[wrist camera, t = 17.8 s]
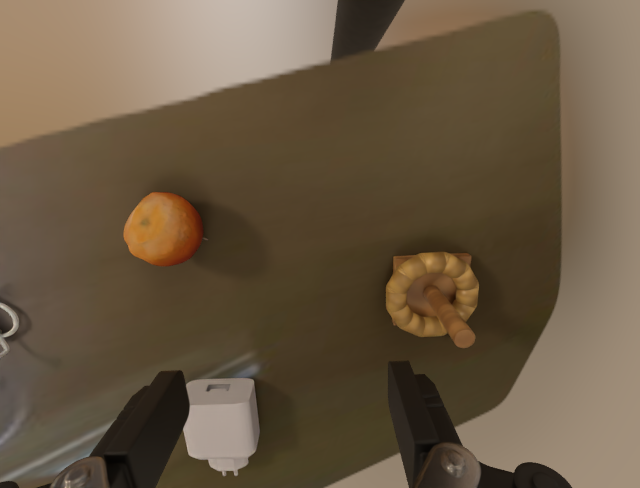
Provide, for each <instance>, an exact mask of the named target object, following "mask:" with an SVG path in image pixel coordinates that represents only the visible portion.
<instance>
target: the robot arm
mask: <svg viewBox="0 0 640 488" xmlns="http://www.w3.org/2000/svg"><path fill="white" fill-rule="evenodd" d="M388 401H389V408H390V413H391V417H392V421H393V425H394V429H395V433H396V437H397V441H398V445H399V449H400V453H401V457H402V461H403V465H404V469H405V473H406V477H407V481H408V485H409V488H572V487H571V485H570V484H569V483H568V482H567V481H566V480H565V478H563V477H562V476H561V475H560V474H558V473H557V472H556V471H554V470H553V469H551V468H549V467H547V466H545V465H541V464H538V463H532V462H527V463H522V464H520V465H519V466H518V467H517V468H516V469H515V472H514V473H512V472H508V471H505V470H501V469H497V468H493V467H490V466H487V465H485V464H483V463H481V462H479V461H477V459H476V457H475V456H474V455H473V454H472V453H471V452H470V451H469V450H468V449H466V448H465V447H463V445H462V443H461V441H460V439H459V437H458V435H457V433H456V430H455V428H454V426H453V424H452V422H451V419H450V417H449V415H448V413H447V411H446V408H445V407H444V404H443V402H442V400H441V398H440V395H439V393H438V391H437V389H436V386H435V384H434V383H433V382H432V381H431V380H430V379H429V378H428V377H427V376H426V375H425V374H418V375H414V373H413V370H412V368H411V365H410V363H409V361H391V362H389V363H388ZM189 410H190V402H189V397H188V393H187V388H186V384H185V379H184V375H183V372H182V371H180V370H179V371H161V372H159V373H158V375H157V376H156V377H155V379H154V380H153V382H152V383H151V385H150V386H144V387H143V388H142V389H141V390H140V391H138V392H137V393H136V394H135V395H133V396H132V398H131V399H130V400H129V402H128V403H127V404H126V406H125V407H124V410H122V411H121V413H120V414H119V415H118V417H117V420H115V421H114V422H113V424H112V425H111V427H110V428H109V429H108V431H107V432H106V433H105V435H104V436H103V438H102V439H101V440H100V442H99V443H98V445H97V446H96V447H95V449H94V450H93V451H92V453H91V454H90V456H89V457H86V458H83V459H80V460H78V461H76V462H74V463H72V464H71V465H69V466H68V467H66V468H65V469H64V470H63V471H62V472H61V473H59V475H58V476H57V477H56V478H55V479H54V481H53V482H52V483H50V484H47V485H44V486H41V487H37V488H155V487H156V485H157V483H158V481H159V479H160V476H161V474H162V472H163V470H164V468H165V466H166V464H167V462H168V459H169V457H170V455H171V453H172V451H173V449H174V447H175V445H176V442H177V440H178V438H179V436H180V434H181V432H182V430H183V428H184V426H185V423H186V421H187V419H188V416H189ZM0 488H19V487H18V485H17V483H15V482H12V481H6V482H1V483H0Z"/></svg>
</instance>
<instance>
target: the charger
mask: <svg viewBox="0 0 640 488" xmlns="http://www.w3.org/2000/svg"><path fill="white" fill-rule="evenodd" d="M186 388H187V393H188V397H189V402H190V410H189V416H188V419H187V421H186V423H185V426H184V428H183V430H184V435H185V439H186V444H187V449H188V454H189V455H190V456H192V457H194V458H197V459H201V460H204V459H208V461H209V465H210V467H212V468H214V469H216V470H218V471H222V474H223V476H226V471H234V475H235V476H237V475H238V471H237V469H240V468H242V467H244V466H246V465H247V464H248V457H249V456H251V455H252V454H253V453H255V451H256V448H257V443H258V438H259V434H260V428H259V420H258V411H257V403H256V394H255V386H254V380H252V379H249V378H227V379H198V380H193V381H190V382H188V383H187V385H186Z"/></svg>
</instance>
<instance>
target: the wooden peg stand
mask: <svg viewBox="0 0 640 488" xmlns="http://www.w3.org/2000/svg"><path fill="white" fill-rule="evenodd" d="M451 255H453V256H455V257H457V258H459V259H461V260H463V261H465V262H466V263H467V264H468V265H469V266H470V265H471V256H470V255H469V254H468V253H456V254H451ZM414 256H416V255H410V256H393V274H394V272H395V270H396V269H397V267H398V266H399V265H400V264H402V263H404V262H405V261H407V260H409V259H411V258H412V257H414ZM455 299H456V285H455V284H454V282H453V280H452V278H450V277H448V276H446V275H444V274H442V273H427V274H425V275H423V276H422V277H420V278H418V279H416V280H415V281H413V283H412V285H411V286H410V288H409V289H408V291H407V305H408V307H409V308H410V310H411V311H412V312H413V313H415V314H418V315H420V316H422V317H428V316H437V317H438V318H439V320H440V321H441V323H442V324H443V326H444V328H445V329H446V331H447V332H448V334H449V335H450V337H451V338H452V340H453V341H454V343H455V344H456V345H457V346H458V347H461V348H466V347H469V346H471V345H472V344H473V343H474V341H475V334H474V333H473V331H472V330H471V329H470V327H469V326H468V325H467V324H466V322H465V321H464V320H463V319H462V317H461V316H460V315H459V313H458V312H457V311H456V310H455V308H454V307H453V306H452V305H451V304H452V303H453V302H454V300H455ZM392 322H393V324H394V326H397V324H396V323H395V321H394V320H393V318H392Z"/></svg>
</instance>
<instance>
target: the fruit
mask: <svg viewBox="0 0 640 488" xmlns="http://www.w3.org/2000/svg"><path fill="white" fill-rule="evenodd" d="M203 232H204V231H203V224H202V220H201V218H200V215H199V213H198V212H197V211H196V209H195V208H194V207H193V206H192V205H191V204H190V203H189V202H188V201H187V200H186V199H184V198H182V197H181V196H179V195H176V194H173V193H168V192H152V193H151V194H149V195H148V196H146V197H144V198H143V199H142V201H141V202H140V203H139V204H138V206H137V207H136V208H135V209H134V211H133V212H132V213H131V215H130V216H129V218H128V220H127V222H126V224H125V228H124V239H125V242H126V243H127V244H128V246H129V250H130V252H131V253H132V254H133V255H134V256H136V257H138V258H141V259H143V260H145V261H147V262H149V263H151V264H153V265H157V266H171V265H176V264H180V263H183V262H185V261H187V260H188V259H190V258H191V257H192V256H193V255H194V253H195V252H196V251H197V249H198V248H199V246H200V244H201V242H202V240H207V241H208V239H207V238H204V237H203Z"/></svg>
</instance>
